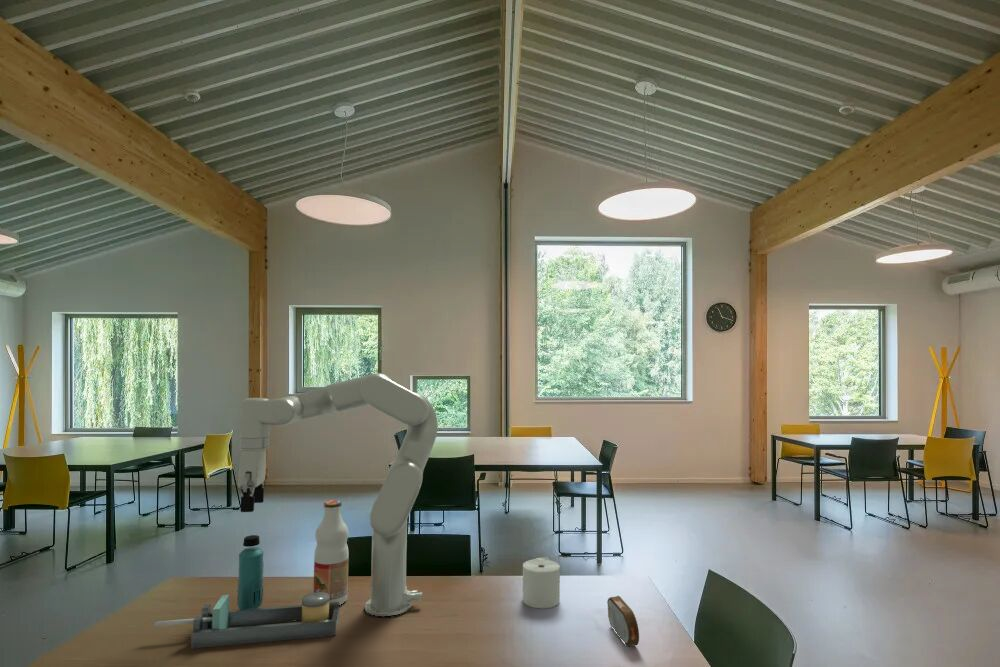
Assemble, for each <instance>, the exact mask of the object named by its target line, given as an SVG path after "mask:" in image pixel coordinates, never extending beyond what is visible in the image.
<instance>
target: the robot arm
mask: <svg viewBox="0 0 1000 667" xmlns="http://www.w3.org/2000/svg"><path fill="white" fill-rule="evenodd" d="M367 407H373V408H375V409H376V410H378V411H379V412H382V413H384V414H385V415H387V416H389V417H391V418H393V419H394V420H397V421H398V422H400V423H402V424H404V425H407V430H406V433H405V435H404V438H403V440H402V442H401V445H400V448H399V450H398V452H397V455H396V456H395V459H394V460H393V462H392V463H391V465H390V467H389V469H388V471H387V475H386V477H385V479H384V481H383V484H382V486H381V488H380V490H379V493H378V495H377V497H376V499H375V500H374V501H373V504H372V507H371V511H370V514H369V524H370V528H371V529H372V533H371V535H372V536H371V564H370V565H371V568H370V569H371V572H370V574H371V575H370V577H371V578H370V580H371V581H370V585H371V586H370V599H368V600H367V601H366V602H365V604H364V610H365V612H366V613H367V614H368V613H369V614H368V615H370V614H371V615H370V616H373V615H375V616H374V617H377V616H391V615H397V614H400V613H403V612H405V611H406V612H408V611H409V610H410V609H411V607H412V601H423V592H418V589H415V590H409V589H408V586H407V548H408V547H407V545H408V544H407V543H408V540H407V538H408V535H407V534H408V531H407V530H408V517H409V516H410V513H411V511H412V508H413V507H414V504H415V502H416V499H417V498H418V495H419V493H420V489H422V488H421V487H422V483H423V478H424V475H423V474H424V470H425V468H426V465H427V462H428V460H429V458H430V455H431V452H432V450H433V447H434V444H435V442H436V438H437V435H438V426H439V424H438V418H437V414H436V410H435V408H434V407H433V405H432V403H431V402H430V401H429V399H428V398H427V397H426V396H424V395H423V394H422V393H419V392H413V391H411V390H409V389H407V388H406V387H404V386H402V385H400V384H398V383H396V382H395V381H392V380H391V378H390V377H389V376H388V375H386V374H384V373H380V372H379V373H372V374H368V375H364V376H363V375H362V376H359V377H356V378H355V377H354V378H352V379H348V380H347V379H346V380H344V381H343V380H342V381H339V382H334V383H331V384H328V385H325V386H323V387H320V388H316V389H314V390H310V391H306V392H301V393H298V394H292V395H287V396H283V397H281V398H273V399H270V398H269V399H268V398H266V397H247V398H244V399H243V400H242V401H241V405H240V420H239V421H240V423H239V424H240V426H239V451H241V452H240V457H239V467H238V476H237V477H238V479H237V487H238V488H239V489H241V490H240V491H241V492H240V493H241V494H240V512H241V513H253V512H254V510H255V504H260V503H261V504H262V503H264V498H265V497H264V494H265V488H264V487H265V479H266V473H267V450H269V449H270V444H271V443H270V441H271V440H270V438H271V426H275V427H276V426H277V427H283V426H288V425H291V424H292V423H295V422H298V421H301V420H306V419H309V418H314V417H318V416H322V415H336V414H337V415H338V414H342V413H345V412H346V413H347V412H350V411H354V410H357V409H362V408H367ZM409 608H410V609H409ZM408 609H409V610H408ZM407 610H408V611H407ZM406 612H405V613H406ZM403 614H404V613H403ZM400 615H401V614H400ZM397 616H398V615H397ZM391 617H392V616H391Z"/></svg>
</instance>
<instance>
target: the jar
mask: <svg viewBox="0 0 1000 667" xmlns="http://www.w3.org/2000/svg"><path fill="white" fill-rule="evenodd" d="M329 600H330V595H329V594H328V593H326V592H310V593H306V594H305V595H303V596H302V598H301V605H302V620H301V622H307V621H319V620H330V618H329Z"/></svg>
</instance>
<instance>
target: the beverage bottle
mask: <svg viewBox="0 0 1000 667" xmlns="http://www.w3.org/2000/svg"><path fill="white" fill-rule="evenodd" d="M260 542H261V541H260V536H259V535H257V534H256V535H255V534H251V535H248V536H245V537H244V538H243V544H242V545H243V547H245V548H244V549H243V550H241V551H240V553H239V554H238V579H237V604H236V605H237V608H238V610H243V609H256V608H261V606H262V605H263V602H264V601H263V600H264V566H265V565H264V550H263V549H261V547H259V545H260Z"/></svg>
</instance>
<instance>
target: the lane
mask: <svg viewBox="0 0 1000 667" xmlns="http://www.w3.org/2000/svg"><path fill="white" fill-rule="evenodd" d="M211 610H212V604H211V603H207V604H204V605H203V607H202V608H201V614H200V615H196V616H195V617H194V618H195V619H194V618H193V619H194V620H193V623H192V632H191V633H190V635H191V636H190V649H201V648H202V649H203V648H210V647H211V648H212V647H223V646H236V645H245V644H246V645H247V644H256V643H268V642H279V641H289V640H290V641H291V640H302V639H312V638H325V637H334V636H333V635H337V630H336V629H338V624H339V618H340V606H339V602H333V603H329V617H332V618H330V619H329V620H319V621H307V622H302V604H298V605H297V604H296V605H294V604H293V605H284V606H282V605H281V606H270V607H258V608H256V609H243V610H240V609H234V610H233V609H232V610H230V609H229V616H228V627H227V628H223V629H212V622H203V618H207V617H212V616H213V611H211ZM338 617H339V618H338ZM294 620H300V621H294ZM286 621H288V622H286ZM284 622H285V623H284ZM337 623H338V624H337ZM248 625H249V626H248Z"/></svg>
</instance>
